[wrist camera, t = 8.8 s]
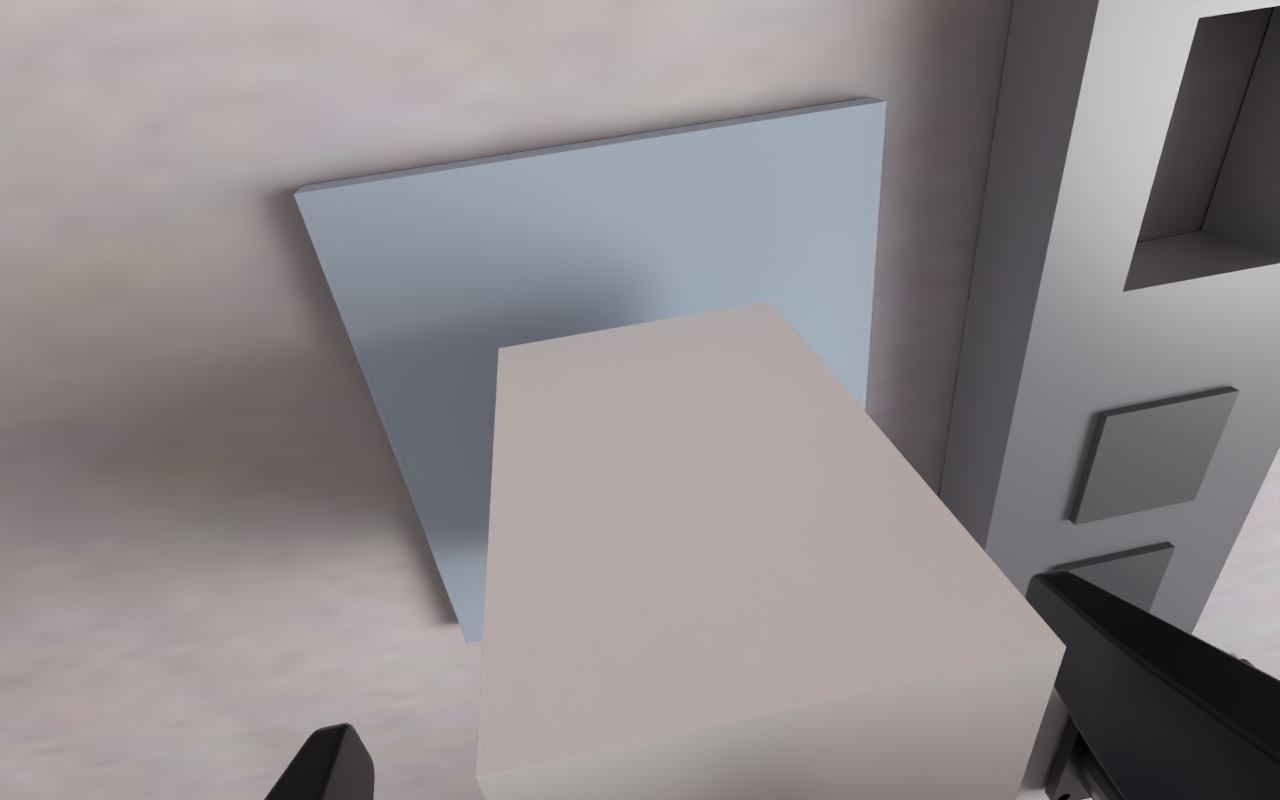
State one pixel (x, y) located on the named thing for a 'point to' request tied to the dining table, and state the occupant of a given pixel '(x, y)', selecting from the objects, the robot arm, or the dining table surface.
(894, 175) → the dining table surface
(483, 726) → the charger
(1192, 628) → the power strip
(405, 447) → the mat
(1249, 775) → the robot arm
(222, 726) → the dining table surface
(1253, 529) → the dining table surface
